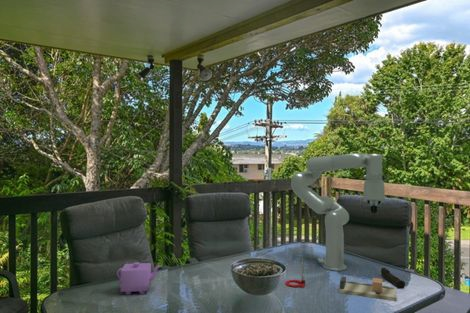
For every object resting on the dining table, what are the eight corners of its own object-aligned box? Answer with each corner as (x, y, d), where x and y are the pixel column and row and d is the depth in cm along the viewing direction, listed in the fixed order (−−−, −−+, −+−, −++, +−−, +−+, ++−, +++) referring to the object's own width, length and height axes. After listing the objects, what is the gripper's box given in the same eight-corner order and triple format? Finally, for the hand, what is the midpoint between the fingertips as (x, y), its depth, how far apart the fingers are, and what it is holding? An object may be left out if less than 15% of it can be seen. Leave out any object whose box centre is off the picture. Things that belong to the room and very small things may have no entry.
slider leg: (372, 292, 156) (372, 283, 156) (372, 286, 163) (372, 277, 163) (382, 293, 155) (382, 284, 155) (382, 287, 162) (382, 278, 162)
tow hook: (284, 287, 167) (304, 288, 164) (283, 259, 167) (303, 260, 165) (286, 281, 175) (305, 282, 173) (285, 255, 175) (304, 256, 173)
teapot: (114, 295, 155) (114, 267, 154) (119, 287, 165) (119, 260, 165) (161, 293, 157) (161, 265, 157) (163, 285, 167) (163, 258, 167)
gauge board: (338, 292, 160) (338, 282, 160) (341, 283, 171) (341, 274, 171) (396, 301, 151) (396, 290, 151) (395, 291, 162) (395, 281, 162)
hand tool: (405, 289, 166) (405, 279, 165) (397, 289, 165) (397, 279, 165) (387, 275, 184) (387, 266, 184) (379, 275, 184) (379, 266, 184)
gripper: (358, 177, 183) (358, 213, 183) (390, 178, 177) (389, 215, 177) (359, 176, 190) (358, 211, 190) (389, 177, 184) (389, 213, 184)
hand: (373, 213), depth 183 cm, fingers closed
